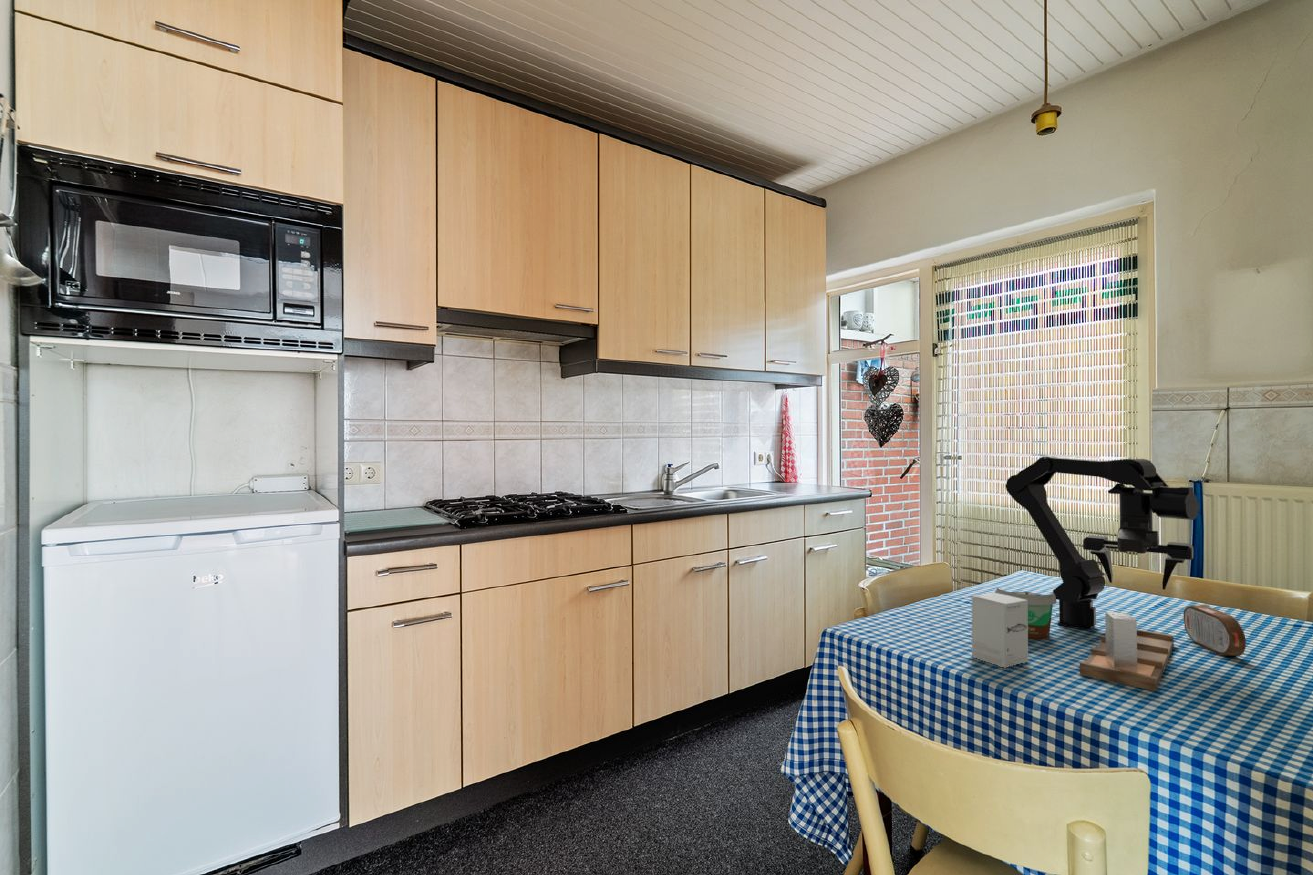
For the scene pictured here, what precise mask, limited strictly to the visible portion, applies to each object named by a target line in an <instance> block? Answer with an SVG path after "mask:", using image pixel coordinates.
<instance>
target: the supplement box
mask: <svg viewBox="0 0 1313 875" xmlns="http://www.w3.org/2000/svg"><path fill="white" fill-rule="evenodd" d="M971 658H974V659H976V658H977V659H976V660H979V659H980V661H982V660H983V661H982V662H984V661H986V662H985V663H987V662H990V663H993V664H996V665H999V666H1002V667H1004V668H1003V669H1006V667H1007V668H1010V667H1014V666H1017V665H1016V664H1019V665H1021V664H1020V663H1023V664H1026V663H1025V662H1028V663H1029V639H1028V600H1025V599H1021V598H1017V597H1012V596H1008V595H1003V594H998V593H995V592H991V593H984V594H978V595H972V596H971ZM990 663H989V664H990ZM993 664H992V665H993ZM996 665H995V666H996ZM1013 665H1014V666H1013ZM999 666H998V667H999ZM1009 666H1010V667H1009Z"/></svg>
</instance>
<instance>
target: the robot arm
mask: <svg viewBox="0 0 1313 875" xmlns="http://www.w3.org/2000/svg"><path fill="white" fill-rule="evenodd" d="M1056 473H1057V474H1066V475H1075V476H1076V475H1078V476H1088V477H1097V478H1101V479H1105V480H1107V481H1111V482H1114V483H1115V485H1114V486H1113V487H1112V488H1110V489H1108V490H1107V493H1108V494H1110V495H1111V494H1112V495H1118V496H1119V498H1118V499H1119V500H1118V501H1119V504H1118V505H1119V528H1118V531H1117V536H1116V539H1117V540H1111V539H1109V538H1108V536H1103V535H1087V536H1086V537H1085V538H1083V542H1082V549H1083V550H1085V551H1086V550H1087V551H1089V552H1090V554H1091V555H1095V556H1096V557H1097V558H1098V560H1099V562H1100V563H1101V565H1102V567H1103V569H1104V572H1105V573H1104V572H1103V570H1102V569H1101V568H1100V567H1099V565H1098V563H1097V560H1095V559H1094V558H1093V559H1092V558H1091V559H1086V558H1085V557H1084V556H1082V555H1081V554H1080V552H1079V551H1078V549H1077V548H1076V546H1075V545H1074V543H1073V542H1072V540H1071V538H1070V536H1069V535H1068V534H1067V532H1066V530H1065V529H1064V527H1063V526H1062V524H1061V523H1060V521H1059V520H1058V518H1057V516H1056V514H1055V513H1054V512H1053V510H1052V508H1051V507H1050V505H1049V503H1048V497H1047V490H1046V487H1045V486H1046V485H1047V484H1048V483H1049V482H1050V481H1051V480H1052V478H1053V477H1054V475H1055V474H1056ZM1126 485H1127V486H1126ZM1005 489H1006V491H1007V494H1009V495H1010V496H1011V498H1012V499H1013V500H1014V502H1016V503H1017V504H1019V506H1021V507H1022V508H1024V509H1025V510H1026V511H1027V512H1028V514H1029V516H1030V517H1031V520H1032V521H1033V522H1034V524H1035V525H1036V526H1037V528H1038V530H1039V533H1041V535H1042V537H1043V538H1044V540H1045V542H1046V543H1047V545H1048V546H1049V549H1050V550H1051V551H1052V553H1053V555H1054V556H1055V558H1056V560H1057V561H1058V564H1059V566H1058V567H1059V575H1060V577H1061V578H1060V579H1061V580H1062V583H1061V584H1060V585H1058V586H1057V587H1055V588H1054V589H1053V590H1052V593H1053V592H1054V595H1055V597H1056V601H1057V600H1058V602H1059V603H1058V606H1059V607H1058V608H1059V609H1058V610H1059V612H1058V613H1059V615H1058V617H1059V619H1058V621H1057V625H1058V626H1064V627H1069V628H1074V629H1075V628H1076V629H1079V630H1080V629H1081V630H1084V631H1085V630H1086V631H1091V630H1092V629H1093V628H1094V627H1095V626H1096V625H1097V609H1096V607H1095V606H1094V600H1096V599H1097V598H1098V596H1099V594H1100V593H1101V592H1103V590H1104V589H1105V586H1106V579H1105V577H1104V576H1105V575H1106V577H1107V580H1108V582H1109V584H1113V582H1114V581H1113V580H1114V579H1113V576H1114V575H1113V574H1114V573H1113V565H1112V556H1111V550H1117V551H1119V552H1121V553H1127V552H1128V553H1129V552H1130V553H1136V554H1145V553H1153V554H1166V556H1167V557H1166V558H1165V561H1164V570H1163V577H1162V590H1164V591H1165V590H1166V589H1167V586H1168V583H1169V581H1170V578H1171V576H1172V573H1173V571H1174V570H1175V567H1176V566H1177V564H1184V563H1185V562H1186V560H1188V561H1190V560H1193V559H1194V546H1193V545H1192V544H1191V543H1189V542H1188V543H1187V542H1186V543H1185V542H1178V541H1177V542H1176V541H1169V542H1168V543H1167V544H1160V543H1159V542H1160V539H1159V538H1160V537H1159V536H1160V535H1159V531H1158V530H1154V529H1153V523H1154V522H1153V519H1154V518H1153V514H1155V515H1156V516H1157V517H1159V518H1163V519H1175V520H1189V521H1194V520H1196V519H1197V517H1198V515H1199V514H1200V513H1199V512H1200V503H1199V502H1198V498H1197V495H1196V494H1195V492H1194V488H1193V487H1191V486H1180V487H1173V486H1169V485H1168V484H1167V483H1166V481H1165V480H1163V478H1162V477H1161V476H1160V475H1159V474H1158V472H1157V468H1156V466H1155V464H1153V462H1151V461H1150V460H1149V459H1146V458H1124V459H1114V460H1113V459H1112V460H1094V459H1092V460H1091V459H1080V458H1067V457H1057V456H1055V455H1051V456H1042V457H1039V458H1038V459H1036V461H1034V462H1033V463H1032V464H1030V465H1028V466H1027V467H1026V468H1023V469H1022V470H1020V471H1019V472H1018V473H1017V474H1013V475H1011V476H1010V477H1008V479H1007V480H1006V484H1005ZM1145 491H1148V492H1145ZM1149 491H1152V492H1149ZM1110 549H1111V550H1110Z"/></svg>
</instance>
